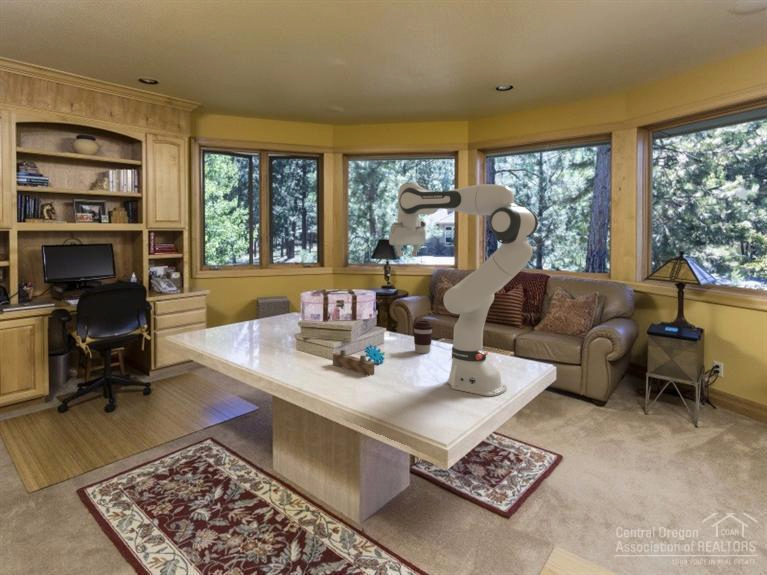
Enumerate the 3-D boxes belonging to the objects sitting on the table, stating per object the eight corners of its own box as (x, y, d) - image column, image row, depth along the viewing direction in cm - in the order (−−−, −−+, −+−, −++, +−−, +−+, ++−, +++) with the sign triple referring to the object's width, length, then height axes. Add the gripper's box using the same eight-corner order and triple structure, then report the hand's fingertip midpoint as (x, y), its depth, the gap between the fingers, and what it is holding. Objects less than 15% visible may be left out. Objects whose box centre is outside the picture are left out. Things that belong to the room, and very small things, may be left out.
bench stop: (374, 374, 183) (374, 357, 182) (369, 376, 181) (369, 359, 180) (337, 363, 198) (337, 347, 197) (332, 364, 195) (332, 349, 194)
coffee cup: (408, 352, 217) (409, 322, 215) (418, 348, 225) (418, 318, 224) (427, 355, 212) (427, 324, 210) (436, 351, 220) (436, 321, 218)
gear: (371, 363, 192) (363, 344, 197) (364, 370, 195) (356, 351, 201) (390, 362, 200) (381, 343, 205) (383, 369, 203) (374, 350, 208)
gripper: (397, 222, 177) (397, 257, 178) (428, 223, 192) (427, 255, 193) (385, 222, 181) (385, 256, 182) (416, 223, 196) (416, 255, 198)
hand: (407, 256), depth 188 cm, fingers open, 8 cm apart
